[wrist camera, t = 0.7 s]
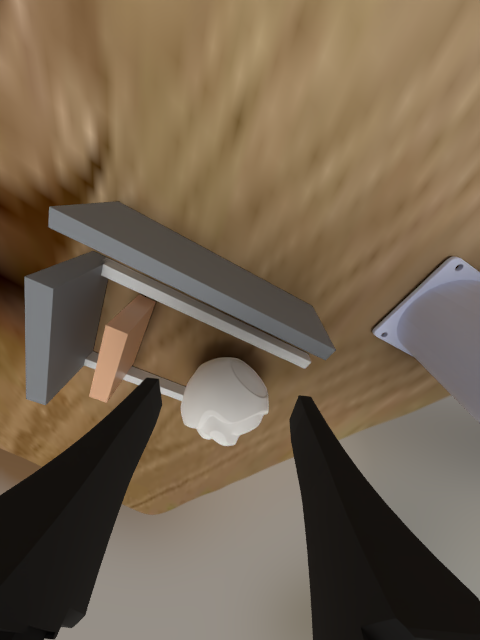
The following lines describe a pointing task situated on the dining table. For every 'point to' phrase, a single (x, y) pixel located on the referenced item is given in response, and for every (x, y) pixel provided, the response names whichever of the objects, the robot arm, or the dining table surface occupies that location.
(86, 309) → the rail mount
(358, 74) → the dining table surface
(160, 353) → the dining table surface
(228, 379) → the white rounded piece
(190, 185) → the dining table surface
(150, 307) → the tan rectangular box
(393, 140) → the dining table surface
